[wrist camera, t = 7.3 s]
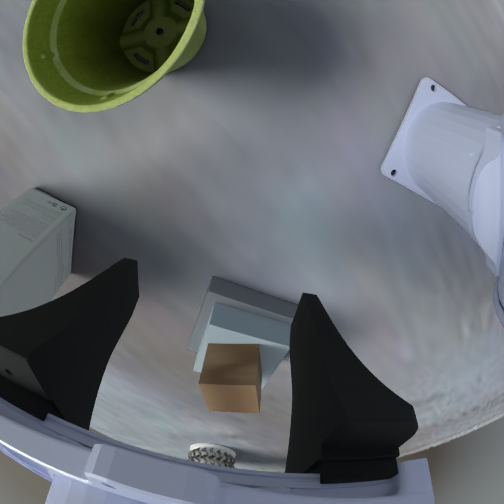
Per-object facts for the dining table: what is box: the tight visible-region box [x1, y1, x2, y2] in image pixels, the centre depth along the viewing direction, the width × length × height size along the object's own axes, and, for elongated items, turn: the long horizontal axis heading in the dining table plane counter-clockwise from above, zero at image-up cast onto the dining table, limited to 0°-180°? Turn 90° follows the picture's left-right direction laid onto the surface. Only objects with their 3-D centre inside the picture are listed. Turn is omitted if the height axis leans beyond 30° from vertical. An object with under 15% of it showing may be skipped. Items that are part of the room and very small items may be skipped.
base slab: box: [187, 276, 298, 354], centre depth 27 cm, size 8×8×2 cm
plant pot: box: [23, 0, 207, 113], centre depth 12 cm, size 9×9×9 cm
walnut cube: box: [199, 343, 262, 413], centre depth 22 cm, size 4×4×4 cm
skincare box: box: [0, 188, 76, 317], centre depth 18 cm, size 8×6×15 cm
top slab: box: [193, 303, 291, 388], centre depth 25 cm, size 6×6×2 cm
